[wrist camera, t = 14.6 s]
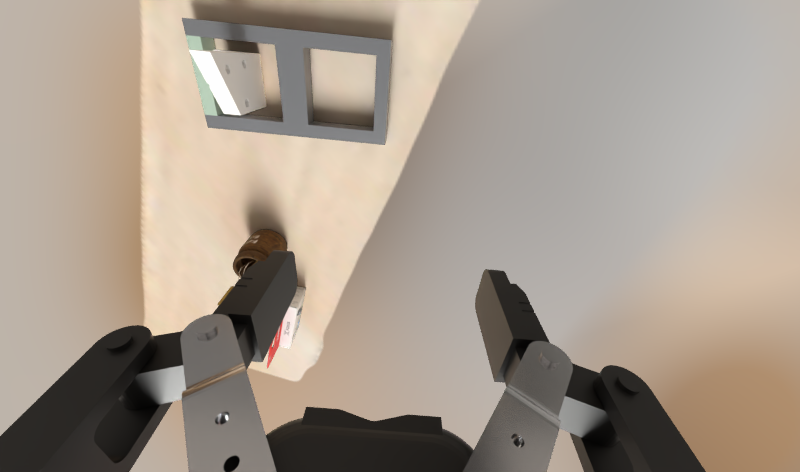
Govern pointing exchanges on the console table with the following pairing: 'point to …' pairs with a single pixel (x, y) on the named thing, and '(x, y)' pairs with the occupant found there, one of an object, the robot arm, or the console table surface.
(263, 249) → the utensil holder
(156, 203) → the console table surface
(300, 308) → the ink cartridge box
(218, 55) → the white wedge bracket
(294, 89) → the port panel
